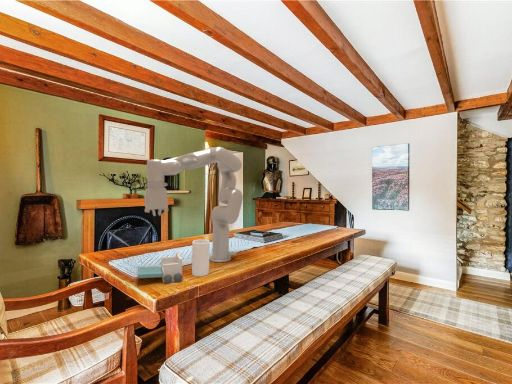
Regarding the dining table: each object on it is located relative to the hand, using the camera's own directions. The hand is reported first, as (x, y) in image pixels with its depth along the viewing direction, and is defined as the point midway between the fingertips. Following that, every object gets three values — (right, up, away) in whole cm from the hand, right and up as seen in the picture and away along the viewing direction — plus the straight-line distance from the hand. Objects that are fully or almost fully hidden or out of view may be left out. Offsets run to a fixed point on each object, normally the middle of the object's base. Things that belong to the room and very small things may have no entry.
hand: (157, 223), depth 122 cm
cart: (+7, -25, -2) cm, 26 cm away
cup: (+20, -25, +4) cm, 33 cm away
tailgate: (+4, -21, -4) cm, 22 cm away
